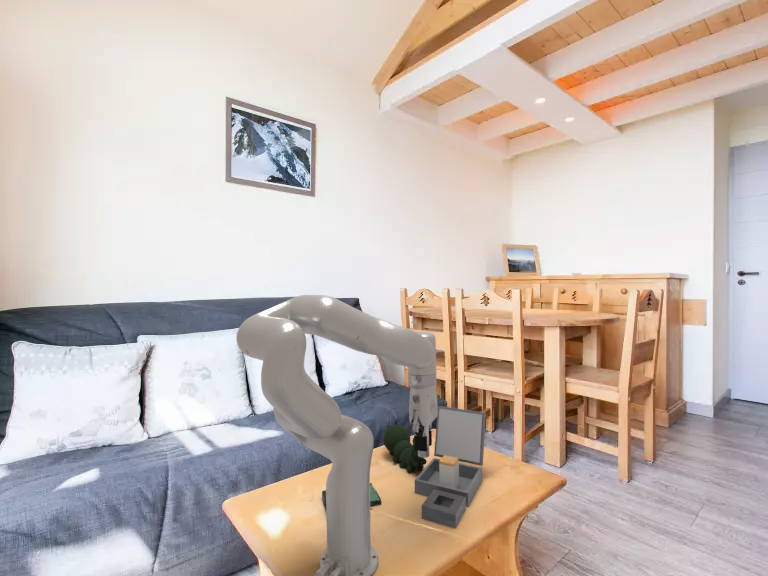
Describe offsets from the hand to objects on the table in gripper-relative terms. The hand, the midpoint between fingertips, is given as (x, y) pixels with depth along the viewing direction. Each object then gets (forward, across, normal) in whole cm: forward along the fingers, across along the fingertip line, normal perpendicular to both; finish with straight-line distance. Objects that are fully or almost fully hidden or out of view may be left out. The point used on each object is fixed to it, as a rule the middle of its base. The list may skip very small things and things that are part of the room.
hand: (423, 446), depth 103 cm
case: (+18, +14, -3) cm, 23 cm away
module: (+17, +14, -3) cm, 22 cm away
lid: (+5, +23, -3) cm, 24 cm away
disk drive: (+18, -4, +20) cm, 27 cm away
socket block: (+17, 0, -5) cm, 18 cm away
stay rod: (+2, 0, 0) cm, 2 cm away
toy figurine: (+18, +23, +16) cm, 33 cm away
